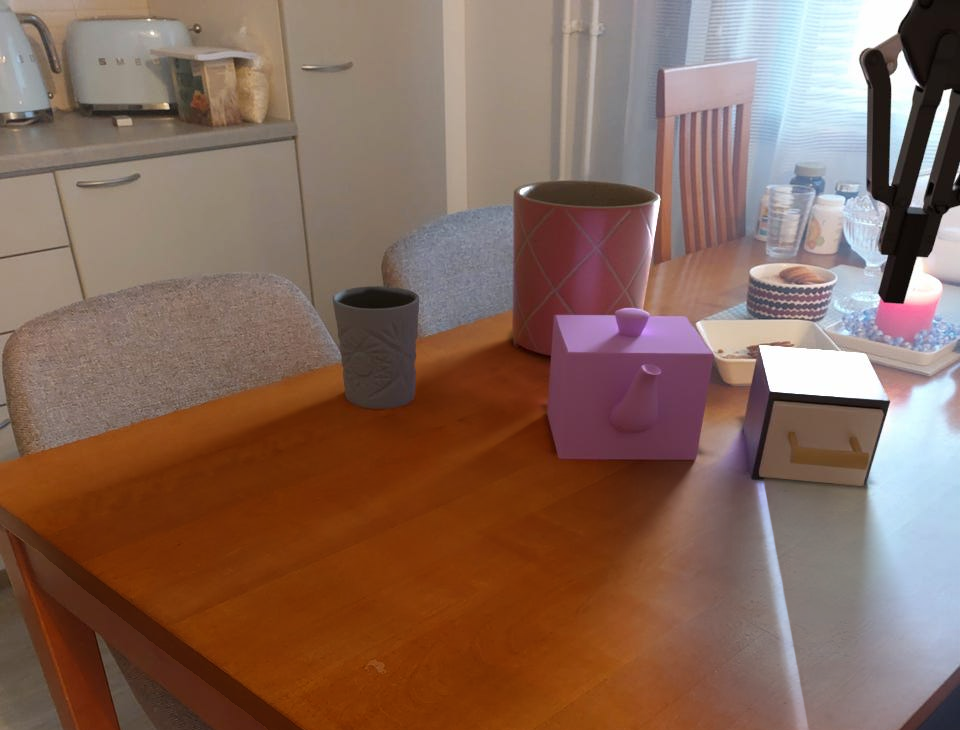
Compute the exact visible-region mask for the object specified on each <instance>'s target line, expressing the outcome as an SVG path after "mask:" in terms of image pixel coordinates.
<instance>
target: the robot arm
mask: <svg viewBox="0 0 960 730" xmlns="http://www.w3.org/2000/svg"><path fill="white" fill-rule="evenodd" d="M900 53H902V55H903V57H904V59H905V62H906V65H907V68H908V70H909V72H910V76H911V78H912V81H913V82H914V84H915V87H914V90H913V94H912V99H911V107H910V111H909V115H908V118H907V123H906V126H905V131H904V135H903V138H902V142H901V146H900V149H899V153H898V158H897V161H896V165H895V168H894V169H895V170H894V173H893V177H892V180H891V183H890V160H891V126H892V123H891V122H892V82H891V76H892V75H893V74H894V73H895V72H896V71H897V69H898V58H899V55H900ZM858 63H859V66H860V68H861V71H862V74H863V77H864V80H865V83H866V85H867V95H866V96H867V98H866V99H867V100H866V159H865V161H866V164H865V165H866V166H865V167H866V168H865V169H866V170H865V171H866V172H865V190H866V192H867V193H868V195H869V196H870V197H871V198H872V199H873V200H875V201H877V202H879V203H882V204H884V205H885V212H884V213H885V214H884V218H883V222H882V225H881V229H880V233H879V235H878V236H879V237H878V241H877V249H878V252H879V254H880V255H882V256H887V258H886V261H885V266H884V268H883V273H882V276H881V280H880V283H879V288H878V292H877V294H878V296H879V298H880V299H881V300H882V302H883V303H884V304H899V305H904V304H905V301H906V297H907V292H908V289H909V286H910V283H911V279H912V276H913V272H914V268H915V266H916V263H917V258H929V257H930V255H931V253H932V252H933V250H934V247H935V243H936V239H937V237H938V233H939V229H940V226H941V222H942V220H943V216H944V215H946V214H947V213H948V212H949V211H950V209H953V208H956V207H959V206H960V173H959V174H958V171H959V167H960V0H912V3H911V5H910V7H909V9H908V11H907V12H906V14H905V16H904V17H903V18H902V20H901V21H900V23H899V24H898V28H897V33H895V34H894V35H892V36H891V37H889V38H887V39H886V40H884V41H883V42H881V43H879V44H877V45H876V46H874V47H867V48H864V49H863V50H862V51H861V52H860V54H859V57H858ZM948 90H951V91H950V93H949V98H948V108H947V112H946V115H945V119H944V123H943V127H942V130H941V134H940V137H939V140H938V145H937V148H936V152H935V156H934V159H933V163H932V166H931V170H930V172H929V173H930V174H929V177H928V181H927V185H926V188H925V192H924V196H923V200H922V201H923V205H922V207H921V206H919V207H917V206H911V205H912V202H913V197H914V194H915V190H916V187H917V183H918V179H919V176H920V172H921V169H922V165H923V161H924V158H925V154H926V150H927V148H928V147H927V146H928V142H929V140H930V135H931V132H932V128H933V125H934V122H935V119H936V114H937V112H938V111H937V110H938V108H939V107H940V104H941V102H942V100H943V99H942V98H943V95H944V91H948ZM957 174H958V175H957ZM956 177H957V178H956Z"/></svg>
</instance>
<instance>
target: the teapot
mask: <svg viewBox="0 0 960 730" xmlns="http://www.w3.org/2000/svg"><path fill="white" fill-rule="evenodd" d="M714 358H715V355H714V353H713V352H712V351H711V349H710V347H708V345H707V343H706V342H705V341H704V339H703V337H701V335H700V334H699V332H698V331H697V330H696V328H695V327H694V325H693V324H691V322H690V320H689V319H688V317H687V316H686V315H685V316H684V315H682V316H681V315H651V314H650V312H648V311H646V310H644V309H643V310H641V309H636V308H624V309H620V310H617V311H616V312H615V315H555V316H554V322H553V336H552V351H551V356H550V365H549V366H550V368H549V381H548V395H547V408H546V409H547V412H546V415H547V418H548V419H547V420H548V422H549V426H550V431H551V434H552V438H553V443H554V445H555V449H556V454H557V457H558V460H633V461H634V460H636V461H637V460H644V461H645V460H649V461H650V460H653V461H655V460H658V461H661V460H665V461H666V460H668V461H669V460H671V461H673V460H674V461H696V460H697V457H698V451H699V446H700V439H701V433H702V427H703V423H704V417H705V410H706V404H707V399H708V393H709V387H710V381H711V375H712V369H713V364H714Z"/></svg>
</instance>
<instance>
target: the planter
mask: <svg viewBox="0 0 960 730" xmlns="http://www.w3.org/2000/svg"><path fill="white" fill-rule="evenodd" d="M512 199H513V200H512V201H513V203H512V205H513V209H512V211H513V213H512V312H511V313H512V315H511V317H512V318H511V319H512V321H511V323H512V325H511V326H512V327H511V328H512V341H513V346H514V347H515V348H518V347H519V346H521V347H522V348H524V349H526V350H528V351H531V352H534V353H538V354H541V355H546V356H550V357H551V351H552V336H553V322H554V316H555V315H615V312H616V311H617V310H620V309H624V308H636V309H641V310H644V305H645V299H646V292H647V286H648V281H649V276H650V275H649V274H650V268H651V262H652V258H653V257H652V256H653V250H654V243H655V235H656V231H657V230H656V229H657V222H658V216H659V209H660V203H661V196H660V195H659V194H658V193H656V192H655V191H653V190H650V189H647V188H644V187H640V186H636V185H631V184H626V183H619V182H611V181H610V182H608V181H601V180H600V181H599V180H579V179H578V180H575V179H574V180H572V179H571V180H568V179H567V180H566V179H565V180H548V181H547V180H546V181H538V182H531V183H526V184H522V185H520V186H517V187H515V189H514V190H513V198H512Z"/></svg>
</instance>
